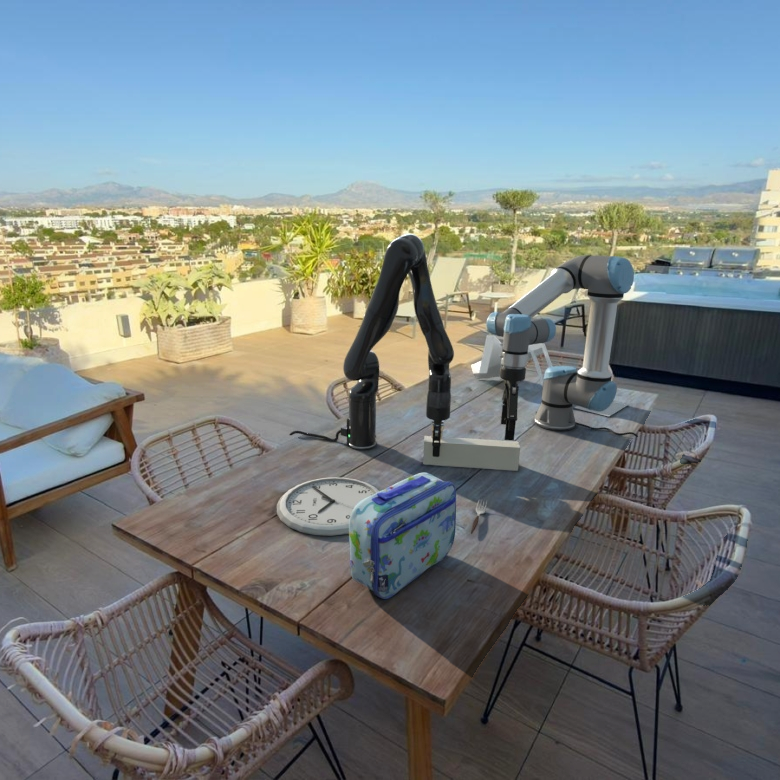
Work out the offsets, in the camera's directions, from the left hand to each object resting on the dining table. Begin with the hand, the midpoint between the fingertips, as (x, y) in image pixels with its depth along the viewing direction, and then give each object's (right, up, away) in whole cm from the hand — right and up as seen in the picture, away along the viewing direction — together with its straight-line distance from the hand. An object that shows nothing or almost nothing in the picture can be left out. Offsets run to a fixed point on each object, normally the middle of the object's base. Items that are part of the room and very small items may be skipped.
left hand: (436, 452), depth 169 cm
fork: (+8, -14, -32) cm, 36 cm away
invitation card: (+77, +13, +57) cm, 96 cm away
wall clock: (-31, -11, -26) cm, 42 cm away
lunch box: (-12, -20, -53) cm, 58 cm away
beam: (+11, -4, 0) cm, 12 cm away
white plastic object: (+44, +22, +85) cm, 98 cm away
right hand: (+22, +7, -5) cm, 23 cm away
